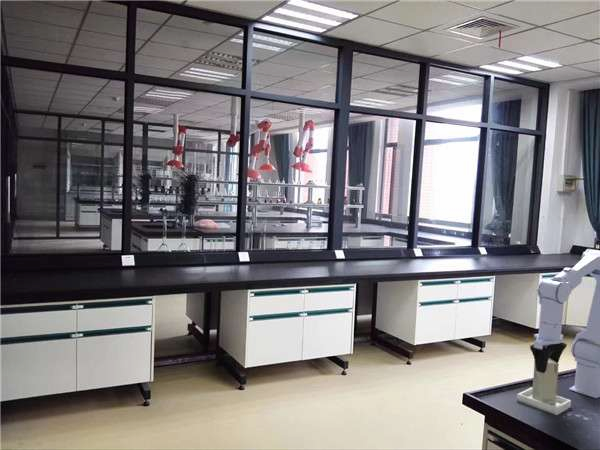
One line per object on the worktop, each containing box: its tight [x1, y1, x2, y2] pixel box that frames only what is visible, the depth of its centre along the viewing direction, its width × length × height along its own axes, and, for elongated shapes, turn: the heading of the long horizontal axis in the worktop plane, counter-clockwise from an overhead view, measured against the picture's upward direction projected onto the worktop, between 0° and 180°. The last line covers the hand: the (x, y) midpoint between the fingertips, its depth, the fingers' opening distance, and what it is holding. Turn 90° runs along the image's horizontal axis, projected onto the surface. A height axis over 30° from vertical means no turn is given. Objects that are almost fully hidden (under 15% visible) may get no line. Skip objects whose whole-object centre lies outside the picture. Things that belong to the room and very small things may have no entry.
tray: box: [516, 386, 572, 416], centre depth 142 cm, size 9×11×2 cm
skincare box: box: [532, 358, 560, 406], centre depth 141 cm, size 6×4×12 cm
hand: (546, 369), depth 141 cm, fingers open, 7 cm apart
